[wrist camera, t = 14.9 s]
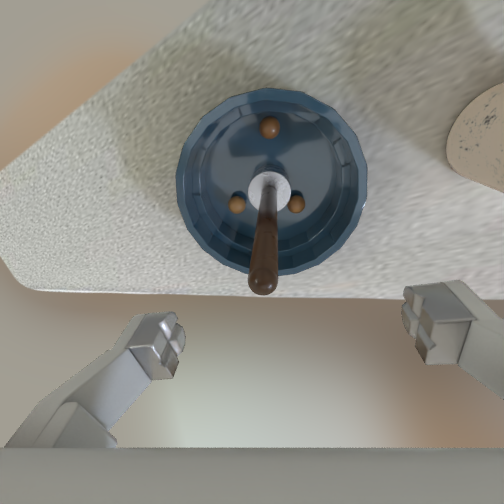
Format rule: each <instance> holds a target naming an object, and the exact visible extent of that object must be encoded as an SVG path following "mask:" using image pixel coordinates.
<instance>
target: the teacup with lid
mask: <svg viewBox="0 0 504 504" xmlns="http://www.w3.org/2000/svg"><path fill="white" fill-rule="evenodd" d="M446 154H447V159H448V162H449V164H450V166H451V167H452V169H453V170H454V171H455V172H456V173H458V174H459V175H461V176H463V177H466V178H468V179H471V180H473V181H475V182H478V183H480V184H483V185H485V186H488V187H490V188H493V189H495V190H498V191H500V192H503V193H504V83H501V84H499V85H496V86H494V87H492V88H490V89H488V90H487V91H485V92H483V93H482V94H480V95H479V96H478V97H477V98H475V99H474V100H473V101H472V102H471V103H470V104H469V105H468V106H467V107H466V108H465V109H464V110H463V111H462V112H461V114H460V115H459V116H458V118H457V119H456V121H455V122H454V124H453V126H452V128H451V130H450V133H449V136H448V139H447V145H446Z"/></svg>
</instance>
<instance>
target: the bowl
mask: <svg viewBox="0 0 504 504" xmlns="http://www.w3.org/2000/svg"><path fill="white" fill-rule="evenodd" d="M268 116H272V117H275V118H276V119H277V120H278V122H279V124H280V130H279V133H278V135H277V136H276V137H275V138H273V139H266V138H264V137H263V136H262V135H261V134H260V131H259V125H260V122H261V121H262V120H263V119H264V118H265V117H268ZM265 165H276V166H278V167H280V168H282V169H283V170H284V171H285V172H286V173H287V175H288V177H289V181H290V187H291V196H290V198H291V197H292V196H294V195H299V196H301V197H302V198H303V199H304V200H305V208H304V210H303V211H302V212H300V213H292V212H290V211H289V209H288V207H287V205H286V206H285V207H284V208H283V209H281V210H280V211H278V212H277V225H278V276H282V275H290V274H295V273H299V272H301V271H304V270H306V269H309V268H311V267H314V266H316V265H319V264H320V263H322V262H323V261H324V260H326V259H327V258H328V257H330V256H331V255H332V254H333V253H335V252H336V251H337V250H339V249H340V248H341V247H342V246H343V244H344V243H345V242H346V240H347V239H348V237H349V236H350V235H351V233H352V232H353V231H354V229H355V228H356V227H357V225H358V222H359V219H360V216H361V213H362V210H363V208H364V205H365V202H366V199H367V198H366V197H367V164H366V161H365V158H364V155H363V152H362V150H361V147H360V144H359V141H358V138H357V136H356V134H355V133H354V132H353V131H352V129H351V128H350V127H349V126H348V125H347V123H346V122H345V121H344V120H343V119H342V118H341V116H340V115H339V114H338V113H337V112H336V111H335V109H333V108H332V107H330V106H328V105H326V104H324V103H322V102H320V101H318V100H317V99H315V98H313V97H311V96H309V95H307V94H305V93H303V92H300V91H291V90H282V89H274V88H262V89H258V90H255V91H251V92H247V93H243V94H239V95H236V96H232V97H229V98H228V99H227V100H225V101H224V102H222V103H221V104H220V105H218V106H217V107H215V108H214V109H213V110H211V111H210V112H208V113H207V114H206V115H204V116H203V117H202V118H201V119H200V121H199V122H198V124H197V125H196V127H195V128H194V130H193V131H192V133H191V134H190V136H189V137H188V138H187V140H186V141H185V143H184V145H183V148H182V152H181V155H180V159H179V163H178V167H177V170H176V175H175V176H176V192H177V203H178V207H179V209H180V212H181V214H182V217H183V220H184V222H185V225H186V227H187V230H188V231H189V232H190V233H191V235H192V236H193V237H194V239H195V240H196V241H197V243H198V244H199V245H200V246H201V248H202V249H203V250H204V251H206V252H207V253H208V254H210V255H211V256H212V257H214V258H215V259H216V260H218V261H219V262H220V263H222V264H223V265H225V266H228V267H230V268H233V269H235V270H238V271H240V272H243V273H245V274H249V268H250V262H251V256H252V249H253V243H254V237H255V230H256V224H257V218H258V211H259V210H257V209H256V208H255V207H254V206H253V205H252V204H251V202H250V200H249V197H248V188H249V184H250V181H251V178H252V176H253V174H254V172H255V171H256V170H257V169H259V168H260V167H262V166H265ZM234 196H240V197H242V198H243V199H244V201H245V203H246V206H245V209H244V211H243V212H241V213H239V214H235V213H232V212H231V211H230V210H229V207H228V202H229V200H230V199H231V198H232V197H234Z"/></svg>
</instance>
